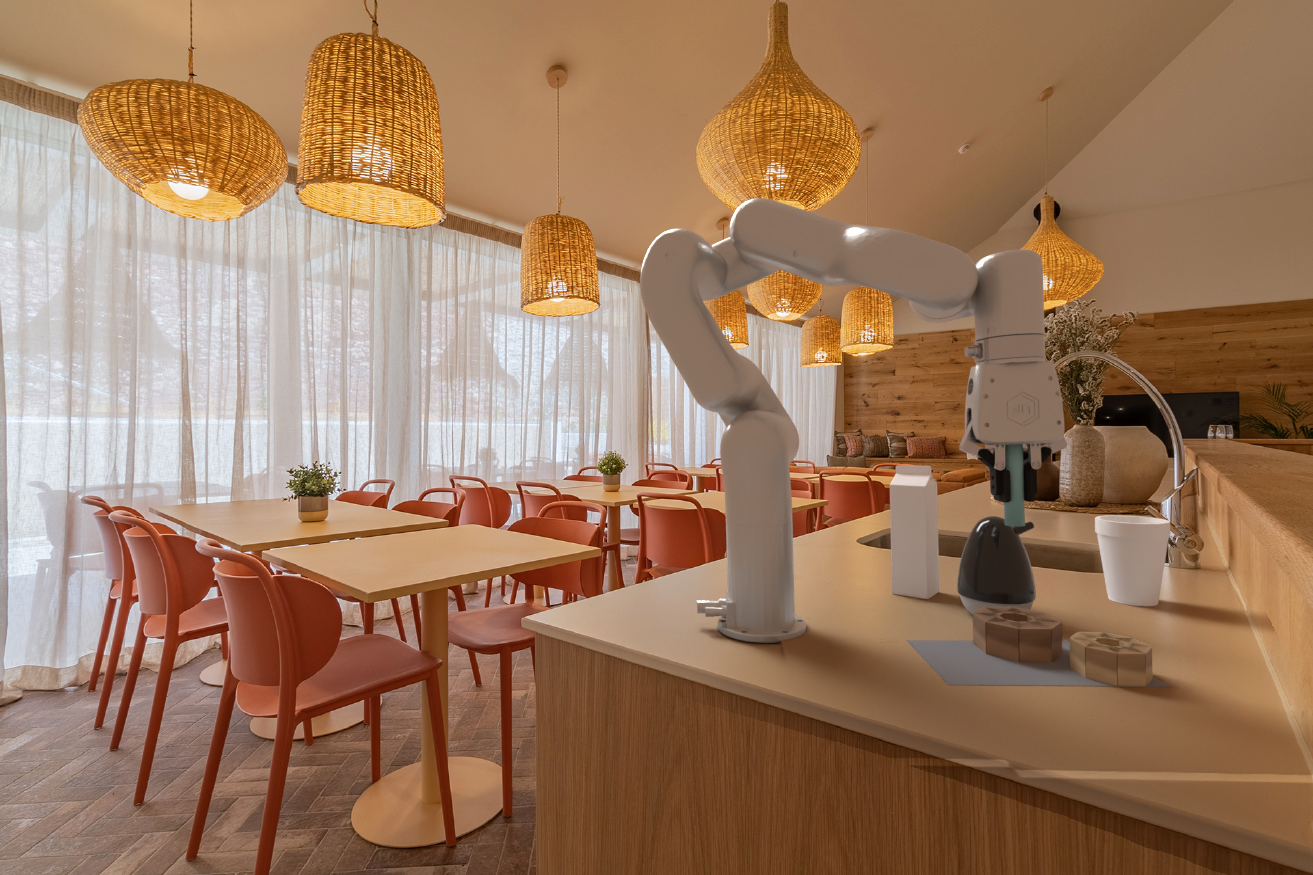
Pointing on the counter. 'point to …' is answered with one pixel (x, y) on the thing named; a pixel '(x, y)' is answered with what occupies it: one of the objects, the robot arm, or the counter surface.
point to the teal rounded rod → (1015, 486)
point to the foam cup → (1133, 557)
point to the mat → (1000, 667)
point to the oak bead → (1111, 658)
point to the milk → (914, 532)
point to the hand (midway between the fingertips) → (1013, 499)
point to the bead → (1017, 634)
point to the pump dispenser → (996, 567)
